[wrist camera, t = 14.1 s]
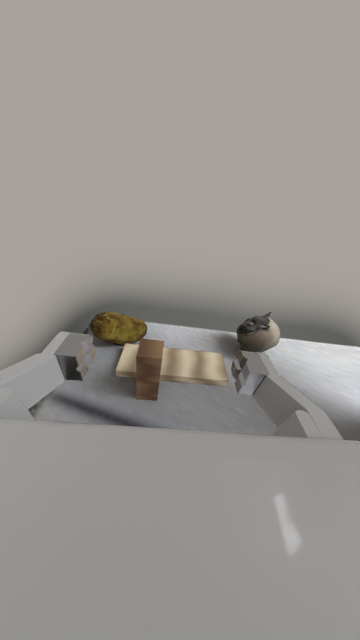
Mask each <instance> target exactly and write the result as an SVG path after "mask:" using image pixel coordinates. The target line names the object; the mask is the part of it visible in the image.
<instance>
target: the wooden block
mask: <svg viewBox="0 0 360 640" xmlns="http://www.w3.org/2000/svg"><path fill="white" fill-rule="evenodd" d="M163 347H164V341H157V340H148V339H141V340H140V344H139V348H138V352H137V355H136V399H145V400H157V395H158V388H159V380H160V372H161V365H162V357H163Z"/></svg>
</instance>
